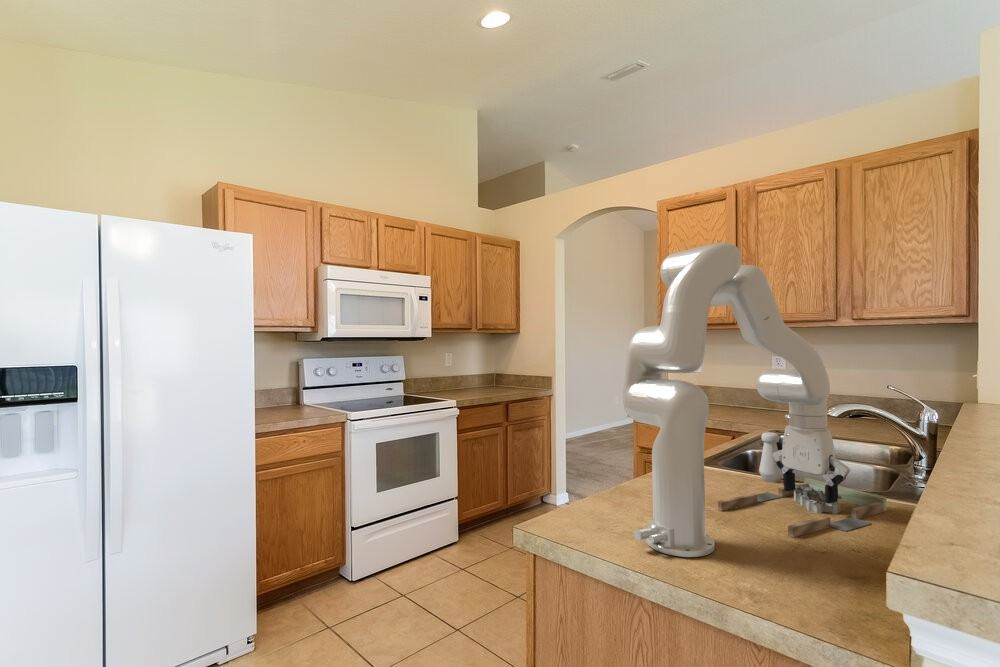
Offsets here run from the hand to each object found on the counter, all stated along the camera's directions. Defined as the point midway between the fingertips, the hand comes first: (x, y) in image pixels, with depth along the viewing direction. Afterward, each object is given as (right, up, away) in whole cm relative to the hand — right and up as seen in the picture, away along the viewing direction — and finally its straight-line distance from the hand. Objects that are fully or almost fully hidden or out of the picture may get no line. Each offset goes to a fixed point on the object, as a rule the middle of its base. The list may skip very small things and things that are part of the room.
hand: (809, 496), depth 115 cm
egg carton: (+2, -3, +2) cm, 4 cm away
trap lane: (-3, -3, -1) cm, 4 cm away
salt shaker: (+3, -3, +23) cm, 23 cm away
